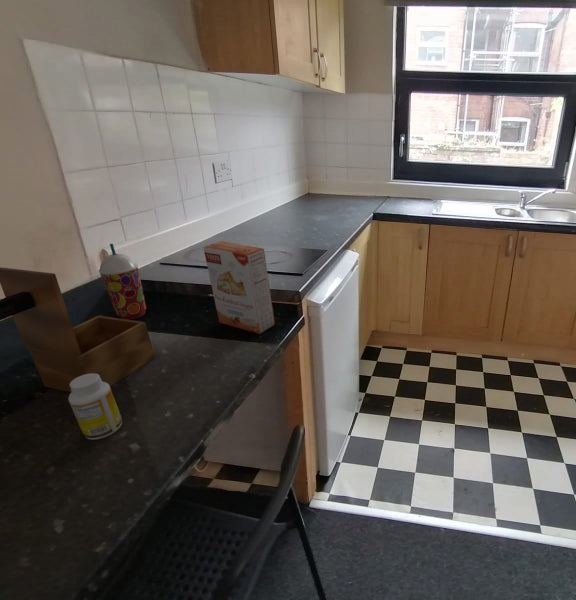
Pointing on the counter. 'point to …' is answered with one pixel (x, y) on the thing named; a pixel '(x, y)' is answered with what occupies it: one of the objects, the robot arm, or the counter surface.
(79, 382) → the supplement bottle
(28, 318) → the lid
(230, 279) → the cracker box
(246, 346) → the counter surface
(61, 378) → the chest
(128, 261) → the smoothie
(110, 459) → the counter surface
